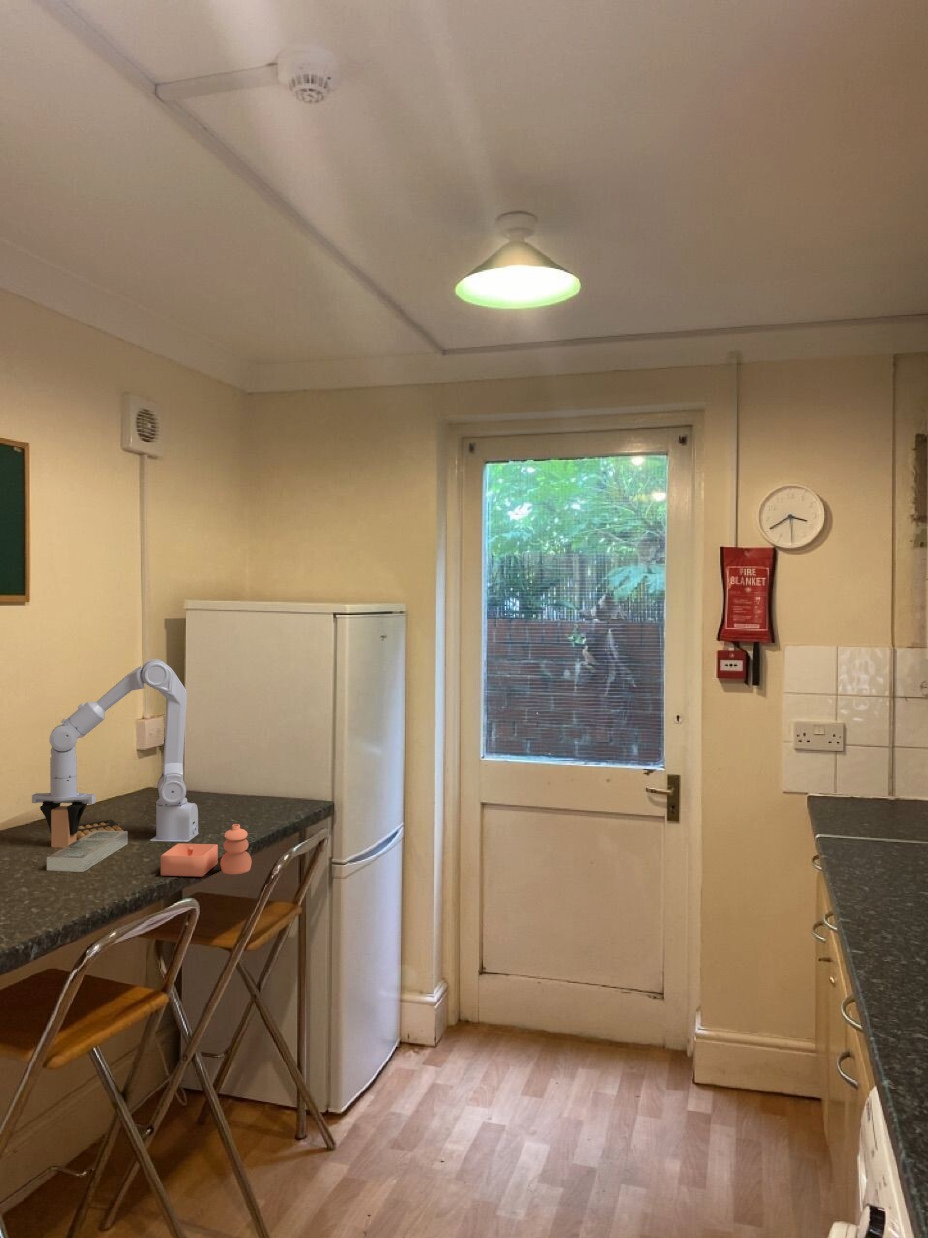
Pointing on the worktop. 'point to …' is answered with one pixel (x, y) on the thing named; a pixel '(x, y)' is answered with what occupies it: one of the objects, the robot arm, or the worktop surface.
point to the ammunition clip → (96, 827)
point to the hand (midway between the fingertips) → (64, 833)
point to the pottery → (208, 856)
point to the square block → (60, 828)
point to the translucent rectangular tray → (87, 851)
